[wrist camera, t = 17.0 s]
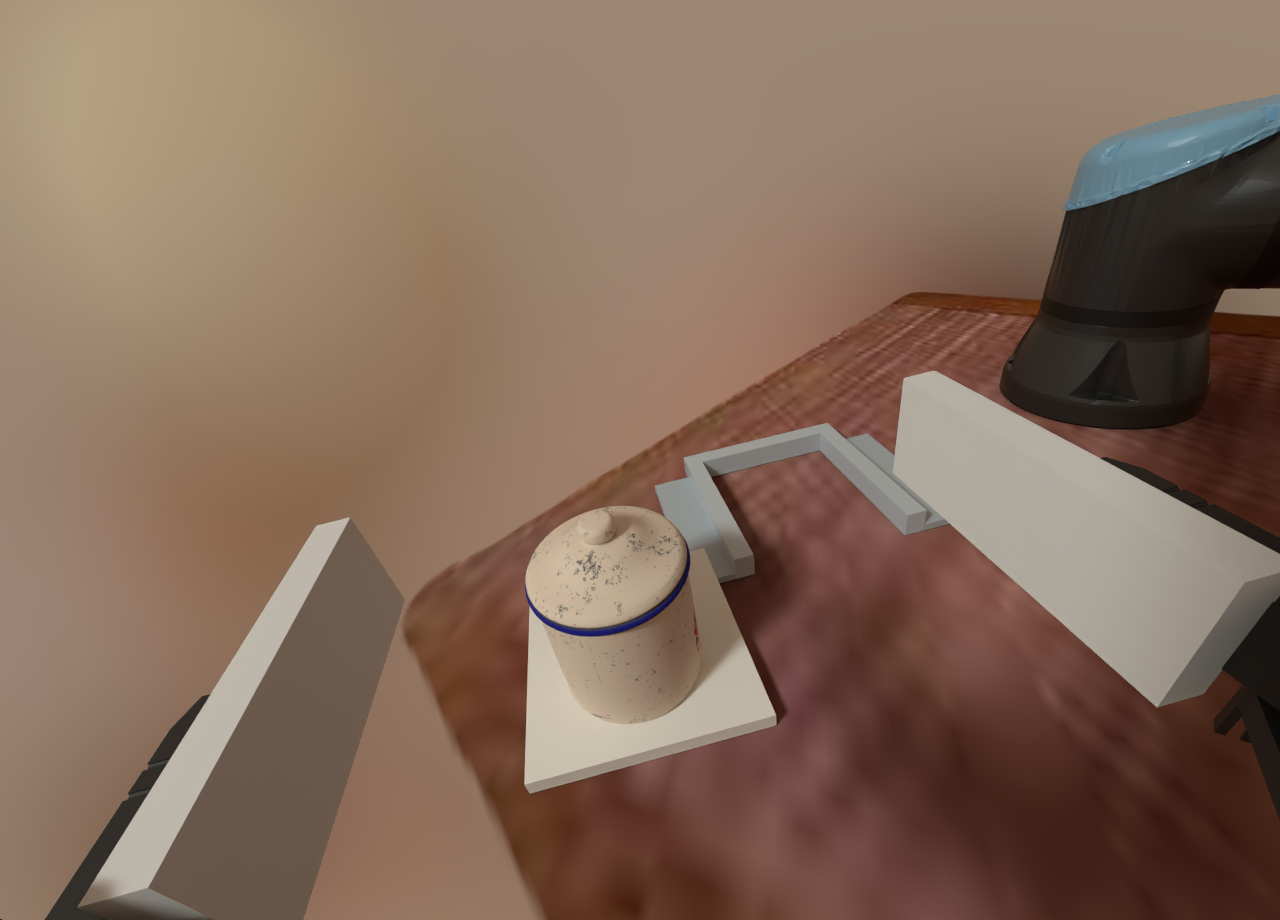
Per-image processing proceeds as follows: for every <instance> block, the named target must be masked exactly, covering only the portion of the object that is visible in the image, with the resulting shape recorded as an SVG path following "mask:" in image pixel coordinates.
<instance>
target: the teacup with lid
mask: <svg viewBox="0 0 1280 920" xmlns="http://www.w3.org/2000/svg"><path fill="white" fill-rule="evenodd" d="M689 570H690V552H689V548H688V545H687V542H686V540H685V538H684V537H683V535H682V534H681V533H680V531H679V530H678V528H677V527H676V526H675V525H674V524H673V523H672V522H671V521H669V520H668V519H667V518H665V517H664V516H662V515H660V514H658V513H656V512H654V511H651V510H648V509H644V508H640V507H633V506H613V507H605V508H600V509H596V510H592V511H589V512H586V513H583V514H581V515H578V516H576V517H574V518H572V519H570V520H568V521H566V522H565V523H563V524H562V525H560V526H559V527H557V528H556V529H555V530H553V531H552V532H551V533H550V534H549V535H548V536H547V537H546V538H545V539H544V540H543V541H542V542H541V543H540V545H539V546H538V547H537V549H536V550H535V552H534V553H533V555H532V557H531V560H530V562H529V565H528V568H527V572H526V583H525V591H526V597H527V600H528V603H529V605H530V607H531V609H532V611H533V612H534V614H535V615H536V616H537V617H538V618H539V619H540V620H541V622H542V624H543V626H544V629H545V631H546V633H547V636H548V638H549V641H550V643H551V645H552V648H553V650H554V653H555V655H556V657H557V660H558V662H559V664H560V667H561V669H562V672H563V674H564V676H565V679H566V681H567V683H568V686H569V688H570V690H571V693H572V695H573V696H574V698H575V699H576V701H577V702H578V703H579V705H580V706H581V707H582V708H583V709H584V710H586V711H587V712H588V713H590V714H591V715H593V716H595V717H597V718H599V719H601V720H604V721H607V722H611V723H616V724H636V723H641V722H646V721H649V720H652V719H654V718H657V717H659V716H661V715H663V714H665V713H666V712H668V711H670V710H671V709H672V708H674V707H675V706H676V705H677V704H678V703H679V702H680V701H682V700H683V698H684V697H685V696H686V695H687V694H688V692H689V691H690V689H691V688H692V686H693V684H694V682H695V680H696V678H697V676H698V672H699V669H700V664H701V646H700V639H699V633H698V627H697V621H696V615H695V609H694V603H693V597H692V591H691V585H690V579H689Z"/></svg>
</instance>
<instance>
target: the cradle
mask: <svg viewBox="0 0 1280 920" xmlns="http://www.w3.org/2000/svg"><path fill="white" fill-rule="evenodd" d="M819 450H820V451H821V452H822V453H823V454H824V455H825V456H826V457H827V458H828V459H829V460H830V461H831V462H832V463H833V464H834V465H835V466H836V467H837V468H838V469H839V470H840V471H841V472H842V473H843V474H844V475H845V476H846V477H847V478H848V479H849V480H850V481H851V482H852V483H853V484H854V485H855V486H856V487H857V488H858V489H859V490H860V491H861V492H862V493H863V494H864V495H865V496H866V497H867V498H868V499H869V500H870V501H871V502H872V503H873V504H874V505H875V506H876V507H877V508H878V509H879V510H880V511H881V512H882V513H883V514H884V515H885V516H886V517H887V518H888V519H889V520H890V521H891V522H892V523H893V524H894V525H895V526H896V527H897V528H898V529H899V530H900V531H901V532H902V533H903V534H904V535H908V534H912V533H916V532H920V531H924V530H927V529H931V528H935V527H939V526H943V525H947V524H950V523H949V522H948V521H946V520H945V519H944V518H943V517H942V516H941V515H940V514H939V513H937V512H936V511H935V510H934V509H933V508H932V507H931V506H930V505H928V504H927V503H926V502H925V501H924V500H923V499H922V498H921V497H919V496H918V495H917V494H916V493H915V492H914V491H913V490H912V489H910V488H909V487H908V486H907V485H906V484H905V483H904V482H903V481H901V480H900V479H899V478H898V477H897V476H896V475H895V474H894V473H893V466H894V458H895V455H893V454H892V453H891V452H890V451H888V450H887V449H886V448H885V447H883V446H882V445H881V444H880V443H878V442H877V441H876V440H875V439H874V438H872V437H871V436H870V435H869V434H864V435H859V436H855V437H851V438H847V439H845V438H844V437H843V436H842V435H840V434H839V433H838V432H837V431H836V430H835V429H834V428H832V427H831V426H830V425H829V424H828V423H825V424H821V425H816V426H812V427H808V428H804V429H800V430H796V431H792V432H788V433H783V434H779V435H775V436H771V437H767V438H763V439H759V440H755V441H751V442H746V443H742V444H738V445H734V446H730V447H726V448H722V449H718V450H713V451H709V452H705V453H701V454H697V455H693V456H689V457H685V458H684V464H685V471H686V475H687V477H688V478H684V479H680V480H676V481H672V482H668V483H664V484H660V485H656V486H655V491H656V494H657V496H658V499H659V502H660V505H661V508H662V510H663V513H664V516H665V518H667V519H668V520H669V521H671V522H672V523H673V524H674V525H675V526H676V527H677V528H678V530H679V531H680V533H681V534H682V535H683V537H684V538H685V540H686V542H687V545H688V548H689V552H690V551H694V550H698V549H702V548H704V549H705V551H706V554H707V556H708V558H709V561H710V563H711V565H712V567H713V570H714V572H715V574H716V577H717V579H718V581H719V583H723V582H727V581H730V580H734V579H738V578H742V577H746V576H750V575H754V574H755V566H754V554H753V552H752V551H751V549H750V547H749V545H748V543H747V542H746V540H745V538H744V536H743V534H742V533H741V531H740V529H739V527H738V525H737V523H736V522H735V520H734V518H733V516H732V514H731V513H730V511H729V509H728V507H727V505H726V504H725V502H724V500H723V498H722V496H721V495H720V493H719V491H718V489H717V487H716V486H715V484H714V482H713V480H712V478H711V477H713V476H717V475H721V474H725V473H729V472H734V471H738V470H742V469H746V468H750V467H754V466H758V465H762V464H766V463H770V462H774V461H778V460H782V459H786V458H790V457H795V456H799V455H803V454H807V453H811V452H815V451H819Z"/></svg>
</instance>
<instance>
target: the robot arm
mask: <svg viewBox="0 0 1280 920" xmlns="http://www.w3.org/2000/svg"><path fill="white" fill-rule="evenodd" d="M1063 209H1064V210H1066V213H1065V217H1064V221H1063V224H1062V228H1061V232H1060V235H1059V239H1058V242H1057V246H1056V250H1055V253H1054V257H1053V261H1052V264H1051V268H1050V272H1049V275H1048V279H1047V283H1046V286H1045V290H1044V294H1043V298H1042V302H1041V305H1040V309H1039V312H1038V315H1037V316H1036V318H1035V320H1034V321H1033V323H1032V324H1031V325H1030V327H1029V328H1028V330H1027V331H1026V333H1025V334H1024V336H1023V338H1022V339H1021V341H1020V342H1019V344H1018V346H1017V347H1016V349H1015V351H1014V353H1013V354H1012V355H1011V356H1010V357H1009V358H1008V360H1007V361H1006V363H1005V365H1004V368H1003V372H1002V377H1001V381H1000V390H1001V392H1002V394H1003V395H1004V396H1005V397H1006V398H1007V399H1008V400H1010V401H1011V402H1012V403H1014V404H1016V405H1017V406H1019V407H1021V408H1023V409H1025V410H1027V411H1030V412H1032V413H1035V414H1038V415H1041V416H1044V417H1047V418H1051V419H1055V420H1059V421H1063V422H1068V423H1073V424H1079V425H1086V426H1094V427H1104V428H1149V427H1158V426H1165V425H1170V424H1174V423H1178V422H1181V421H1184V420H1186V419H1188V418H1190V417H1192V416H1194V415H1195V414H1196V413H1197V412H1198V411H1199V410H1200V408H1201V406H1202V404H1203V401H1204V399H1205V397H1206V395H1207V393H1208V391H1209V388H1210V384H1211V378H1210V376H1209V369H1210V333H1209V325H1210V320H1211V318H1212V315H1213V313H1214V311H1215V308H1216V306H1217V304H1218V301H1219V299H1220V297H1221V295H1222V294H1223V292H1224V290H1226V289H1233V288H1234V289H1237V288H1238V289H1260V288H1280V94H1279V95H1273V96H1269V97H1265V98H1259V99H1255V100H1250V101H1242V102H1237V103H1233V104H1228V105H1223V106H1219V107H1214V108H1210V109H1206V110H1202V111H1198V112H1193V113H1189V114H1185V115H1181V116H1177V117H1173V118H1169V119H1166V120H1162V121H1158V122H1154V123H1151V124H1147V125H1144V126H1141V127H1137V128H1134V129H1131V130H1128V131H1124V132H1121V133H1119V134H1116V135H1113V136H1111V137H1108V138H1106V139H1104V140H1103V141H1101V142H1099V143H1098V144H1096V145H1095V146H1093V147H1092V148H1091V149H1090V150H1089V151H1088V152H1087V153H1086V154H1085V156H1084V157H1083V158H1082V160H1081V162H1080V164H1079V167H1078V170H1077V173H1076V176H1075V179H1074V182H1073V185H1072V188H1071V192H1070V195H1069V198H1068V199H1067V200H1066V201H1065V203H1064V207H1063ZM893 473H894V474H895V475H896V476H897V477H898V478H899V479H900V480H901V481H903V482H904V483H905V484H906V485H907V486H908V487H909V488H910V489H912V490H913V491H914V492H915V493H916V494H917V495H918V496H919V497H921V498H922V499H923V500H924V501H925V502H926V503H927V504H928V505H930V506H931V507H932V508H933V509H934V510H935V511H936V512H937V513H939V514H940V515H941V516H942V517H943V518H944V519H945V520H946V521H948V522H949V523H950V524H951V525H952V526H953V527H954V528H955V529H957V530H958V531H959V532H960V533H961V534H962V535H963V536H964V537H966V538H967V539H968V540H969V541H970V542H971V543H972V544H973V545H975V546H976V547H977V548H978V549H979V550H980V551H981V552H982V553H984V554H985V555H986V556H987V557H988V558H989V559H990V560H991V561H993V562H994V563H995V564H996V565H997V566H998V567H999V568H1001V569H1002V570H1003V571H1004V572H1005V573H1006V574H1007V575H1008V576H1010V577H1011V578H1012V579H1013V580H1014V581H1015V582H1016V583H1017V584H1019V585H1020V586H1021V587H1022V588H1023V589H1024V590H1025V591H1026V592H1028V593H1029V594H1030V595H1031V596H1032V597H1033V598H1034V599H1035V600H1037V601H1038V602H1039V603H1040V604H1041V605H1042V606H1043V607H1044V608H1046V609H1047V610H1048V611H1049V612H1050V613H1051V614H1052V615H1053V616H1055V617H1056V618H1057V619H1058V620H1059V621H1060V622H1061V623H1062V624H1064V625H1065V626H1066V627H1067V628H1068V629H1069V630H1070V631H1071V632H1073V633H1074V634H1075V635H1076V636H1077V637H1078V638H1079V639H1080V640H1082V641H1083V642H1084V643H1085V644H1086V645H1087V646H1088V647H1089V648H1091V649H1092V650H1093V651H1094V652H1095V653H1096V654H1097V655H1098V656H1100V657H1101V658H1102V659H1103V660H1104V661H1105V662H1106V663H1107V664H1109V665H1110V666H1111V667H1112V668H1113V669H1114V670H1115V671H1116V672H1118V673H1119V674H1120V675H1121V676H1122V677H1123V678H1124V679H1125V680H1127V681H1128V682H1129V683H1130V684H1131V685H1132V686H1133V687H1134V688H1136V689H1137V690H1138V691H1139V692H1140V693H1141V694H1142V695H1143V696H1145V697H1146V698H1147V699H1148V700H1149V701H1150V702H1151V703H1152V704H1154V705H1155V706H1156V707H1161V706H1164V705H1168V704H1171V703H1175V702H1178V701H1181V700H1185V699H1188V698H1192V697H1195V696H1199V695H1202V694H1204V693H1205V692H1206V690H1207V689H1208V688H1209V686H1210V685H1211V684H1212V683H1213V681H1214V680H1215V679H1216V677H1217V676H1218V675H1219V674H1220V672H1221V671H1222V670H1225V671H1226V672H1227V673H1229V674H1230V675H1231V676H1233V677H1234V678H1235V679H1237V680H1238V681H1239V682H1241V683H1242V684H1243V686H1242V687H1241V688H1240V689H1239V690H1238V692H1237V693H1236V694H1235V695H1234V696H1233V697H1232V699H1231V700H1230V701H1229V702H1228V703H1227V705H1226V706H1225V707H1224V708H1223V709H1222V711H1221V712H1220V713H1219V714H1218V715H1217V717H1216V718H1215V719H1214V732H1215V733H1219V734H1222V735H1225V734H1226V733H1227V732H1228V731H1229V730H1230V729H1231V728H1232V727H1233V725H1234V724H1235V723H1236V722H1237V721H1238V720H1239V719H1240V717H1242V718H1243V721H1244V723H1245V726H1246V730H1245V731H1244V732H1243V734H1242V735H1241V737H1240V740H1242V741H1246V742H1249V743H1252V745H1253V748H1254V751H1255V754H1256V756H1257V759H1258V762H1259V765H1260V768H1261V770H1262V773H1263V776H1264V779H1265V781H1266V784H1267V787H1268V790H1269V792H1270V795H1271V798H1272V801H1273V803H1274V806H1275V809H1276V812H1277V814H1278V817H1279V820H1280V538H1279V537H1277V536H1275V535H1273V534H1271V533H1269V532H1267V531H1265V530H1263V529H1261V528H1259V527H1257V526H1255V525H1254V524H1252V523H1250V522H1248V521H1246V520H1244V519H1242V518H1240V517H1238V516H1236V515H1234V514H1232V513H1230V512H1228V511H1226V510H1224V509H1222V508H1220V507H1218V506H1216V505H1214V504H1213V505H1208V504H1207V502H1206V500H1204V499H1202V498H1201V497H1199V496H1197V495H1195V494H1193V493H1191V492H1189V491H1187V490H1179V489H1178V486H1177V485H1175V484H1173V483H1171V482H1169V481H1167V480H1165V479H1163V478H1161V477H1159V476H1157V475H1155V474H1153V473H1151V472H1150V471H1148V470H1146V469H1143V468H1140V467H1137V466H1133V465H1130V464H1127V463H1124V462H1120V461H1117V460H1114V459H1110V458H1107V457H1103V458H1098V457H1096V456H1094V455H1093V454H1091V453H1089V452H1087V451H1085V450H1083V449H1081V448H1079V447H1077V446H1076V445H1074V444H1072V443H1070V442H1068V441H1066V440H1064V439H1062V438H1061V437H1059V436H1057V435H1055V434H1053V433H1051V432H1049V431H1047V430H1045V429H1044V428H1042V427H1040V426H1038V425H1036V424H1034V423H1032V422H1030V421H1029V420H1027V419H1025V418H1023V417H1021V416H1019V415H1017V414H1015V413H1014V412H1012V411H1010V410H1008V409H1006V408H1004V407H1002V406H1000V405H998V404H997V403H995V402H993V401H991V400H989V399H987V398H985V397H983V396H982V395H980V394H978V393H976V392H974V391H972V390H970V389H968V388H966V387H965V386H963V385H961V384H959V383H957V382H955V381H953V380H951V379H950V378H948V377H946V376H944V375H942V374H940V373H938V372H936V371H930V372H926V373H922V374H918V375H914V376H910V377H906V378H904V381H903V389H902V398H901V406H900V415H899V423H898V432H897V441H896V449H895V458H894V466H893ZM404 601H405V599H404V597H403V596H402V594H401V593H400V591H399V590H398V588H397V587H396V585H395V584H394V582H393V581H392V579H391V578H390V576H389V575H388V573H387V572H386V570H385V569H384V567H383V566H382V564H381V563H380V561H379V560H378V558H377V557H376V555H375V554H374V552H373V551H372V549H371V548H370V546H369V545H368V543H367V542H366V540H365V539H364V537H363V536H362V534H361V532H360V531H359V530H358V528H357V526H356V525H355V523H354V522H353V521H352V519H351V518H346V519H342V520H338V521H334V522H330V523H326V524H322V525H318V526H316V527H315V529H314V530H313V532H312V534H311V535H310V537H309V538H308V540H307V542H306V543H305V545H304V546H303V548H302V550H301V551H300V553H299V554H298V556H297V558H296V559H295V561H294V562H293V564H292V566H291V567H290V569H289V570H288V572H287V574H286V575H285V577H284V578H283V580H282V582H281V583H280V585H279V586H278V588H277V590H276V591H275V593H274V594H273V596H272V597H271V599H270V601H269V602H268V604H267V605H266V607H265V609H264V610H263V612H262V613H261V615H260V617H259V618H258V620H257V621H256V623H255V625H254V626H253V628H252V629H251V631H250V633H249V634H248V636H247V637H246V639H245V641H244V642H243V644H242V645H241V647H240V649H239V650H238V652H237V653H236V655H235V656H234V658H233V660H232V661H231V663H230V664H229V666H228V668H227V669H226V671H225V673H224V674H223V676H222V677H221V679H220V680H219V682H218V684H217V685H216V687H215V688H214V690H213V692H212V693H211V694H210V695H206V696H202V697H201V698H200V699H199V700H198V701H197V702H196V703H195V704H194V705H193V706H192V707H191V708H190V709H189V710H188V712H187V713H186V714H185V715H184V716H183V717H182V718H181V719H180V720H179V721H178V722H177V723H176V724H175V725H174V726H173V727H172V728H171V729H170V731H169V732H168V734H167V735H166V737H165V738H164V740H163V741H162V743H161V744H160V746H159V747H158V749H157V750H156V752H155V753H154V755H153V757H152V758H151V759H150V761H149V762H148V765H149V767H148V770H144V771H143V772H142V773H141V775H140V776H139V778H138V779H137V781H136V782H135V784H134V785H133V787H132V788H131V790H130V791H129V793H128V794H129V798H128V800H126V801H123V802H122V803H121V805H120V806H119V808H118V809H117V811H116V813H115V814H114V816H113V817H112V819H111V820H110V822H109V823H108V825H107V826H106V828H105V829H104V831H103V833H102V834H101V835H100V837H99V838H98V840H97V841H96V843H95V844H94V846H93V848H92V849H91V850H90V852H89V854H88V855H87V857H86V858H85V859H84V861H83V863H82V864H81V866H80V867H79V869H78V870H77V872H76V873H75V875H74V876H73V878H72V879H71V881H70V882H69V884H68V885H67V887H66V888H65V890H64V891H63V893H62V894H61V896H60V897H59V899H58V900H57V902H56V903H55V905H54V907H53V908H52V910H51V911H50V913H49V914H48V916H47V917H46V919H45V920H303V918H304V915H305V911H306V909H307V905H308V903H309V899H310V896H311V893H312V890H313V887H314V884H315V881H316V877H317V874H318V871H319V868H320V865H321V862H322V858H323V855H324V852H325V849H326V846H327V843H328V840H329V837H330V833H331V830H332V827H333V824H334V821H335V818H336V815H337V811H338V808H339V805H340V802H341V798H342V796H343V793H344V789H345V786H346V783H347V780H348V777H349V774H350V770H351V767H352V764H353V761H354V758H355V755H356V751H357V749H358V745H359V742H360V739H361V736H362V733H363V729H364V726H365V723H366V720H367V717H368V714H369V710H370V708H371V705H372V701H373V698H374V695H375V692H376V689H377V686H378V683H379V679H380V676H381V673H382V670H383V667H384V664H385V660H386V657H387V654H388V651H389V648H390V645H391V642H392V638H393V635H394V632H395V629H396V626H397V623H398V620H399V616H400V614H401V610H402V607H403V604H404ZM0 920H1V919H0Z"/></svg>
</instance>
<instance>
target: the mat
mask: <svg viewBox="0 0 1280 920" xmlns="http://www.w3.org/2000/svg"><path fill="white" fill-rule="evenodd" d="M689 579H690V585H691V591H692V597H693V603H694V609H695V615H696V621H697V627H698V633H699V639H700V646H701V664H700V669H699V672H698V676H697V678H696V680H695V682H694V684H693V686H692V688H691V689H690V691H689V692H688V694H687V695H686V696H685V697H684V698H683V700H682V701H680V702H679V703H678V704H677V705H676V706H675V707H674V708H672V709H671V710H670V711H668V712H666V713H665V714H663V715H661V716H659V717H657V718H654V719H652V720H649V721H646V722H641V723H636V724H616V723H611V722H607V721H604V720H601V719H599V718H597V717H595V716H593V715H591V714H590V713H588V712H587V711H586V710H584V709H583V708H582V707H581V706H580V705H579V703H578V702H577V701H576V699H575V698H574V696H573V695H572V693H571V690H570V688H569V686H568V683H567V681H566V679H565V676H564V674H563V672H562V669H561V667H560V664H559V662H558V660H557V657H556V655H555V653H554V650H553V648H552V645H551V643H550V641H549V638H548V636H547V633H546V631H545V629H544V626H543V624H542V622H541V620H540V619H539V618H538V617H537V616H536V615H535V614H534V612H533V611H532V609H531V607H530V616H529V650H528V684H527V718H526V752H525V786H526V788H527V790H528V791H529V793H530V794H531V793H534V792H538V791H541V790H545V789H549V788H552V787H556V786H559V785H563V784H567V783H570V782H574V781H578V780H581V779H585V778H588V777H592V776H596V775H599V774H603V773H606V772H610V771H614V770H617V769H621V768H624V767H628V766H632V765H635V764H639V763H642V762H646V761H650V760H653V759H657V758H660V757H664V756H668V755H671V754H675V753H678V752H682V751H686V750H689V749H693V748H696V747H700V746H704V745H707V744H711V743H714V742H718V741H722V740H725V739H729V738H732V737H736V736H740V735H743V734H747V733H750V732H754V731H758V730H761V729H765V728H768V727H772V726H776V725H777V723H776V714H775V711H774V709H773V707H772V704H771V702H770V700H769V697H768V695H767V693H766V690H765V688H764V686H763V684H762V681H761V679H760V677H759V674H758V672H757V670H756V667H755V665H754V663H753V660H752V658H751V656H750V653H749V651H748V649H747V646H746V644H745V642H744V639H743V637H742V635H741V632H740V630H739V628H738V625H737V623H736V621H735V619H734V616H733V614H732V612H731V609H730V607H729V605H728V602H727V600H726V598H725V595H724V593H723V591H722V588H721V586H720V584H719V581H718V579H717V577H716V574H715V572H714V570H713V567H712V565H711V563H710V561H709V558H708V556H707V554H706V551H705V549H704V548H702V549H698V550H694V551H690V570H689Z"/></svg>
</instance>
